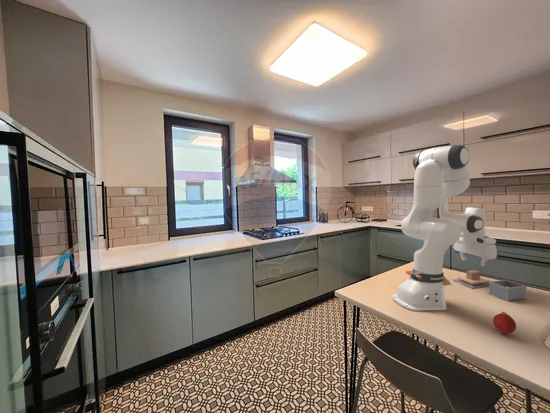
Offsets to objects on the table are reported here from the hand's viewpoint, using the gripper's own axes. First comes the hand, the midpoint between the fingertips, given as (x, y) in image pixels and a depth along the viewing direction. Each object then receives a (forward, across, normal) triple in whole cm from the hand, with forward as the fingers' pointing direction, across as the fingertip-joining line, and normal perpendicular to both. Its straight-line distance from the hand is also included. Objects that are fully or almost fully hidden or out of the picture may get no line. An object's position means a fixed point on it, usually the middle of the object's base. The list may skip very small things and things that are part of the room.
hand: (472, 262), depth 123 cm
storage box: (+11, +16, +1) cm, 19 cm away
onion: (+12, +38, -31) cm, 51 cm away
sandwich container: (+12, -8, -15) cm, 21 cm away
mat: (+11, 0, +1) cm, 11 cm away
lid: (+11, 0, +1) cm, 11 cm away
